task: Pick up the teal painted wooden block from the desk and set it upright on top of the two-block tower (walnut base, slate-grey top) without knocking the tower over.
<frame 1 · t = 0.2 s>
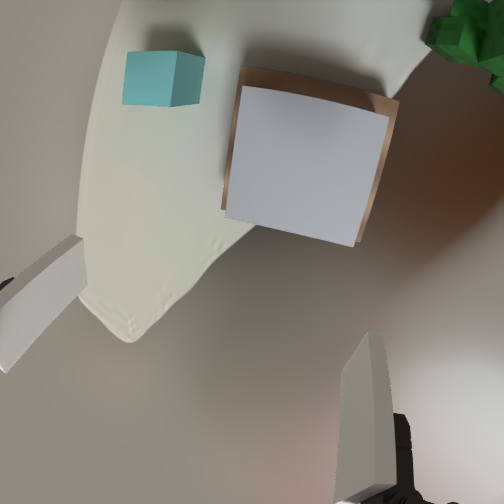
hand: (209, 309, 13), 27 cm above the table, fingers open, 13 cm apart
toy: (474, 51, 23), on the table
block: (180, 79, 33), on the table
tower base: (308, 146, 35), on the table, touching tower top
tower top: (305, 155, 30), point 5 cm above the table, touching tower base
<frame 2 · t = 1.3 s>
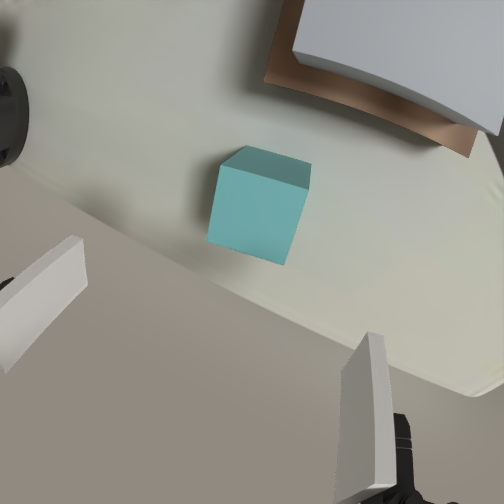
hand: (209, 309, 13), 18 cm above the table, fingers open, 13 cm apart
block: (270, 184, 28), on the table
tower base: (384, 32, 19), on the table, touching tower top
tower top: (402, 17, 14), point 5 cm above the table, touching tower base
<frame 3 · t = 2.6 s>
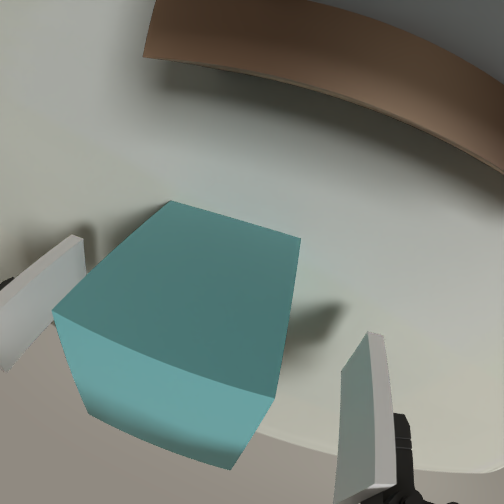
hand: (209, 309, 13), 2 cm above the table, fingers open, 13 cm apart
block: (222, 273, 15), on the table
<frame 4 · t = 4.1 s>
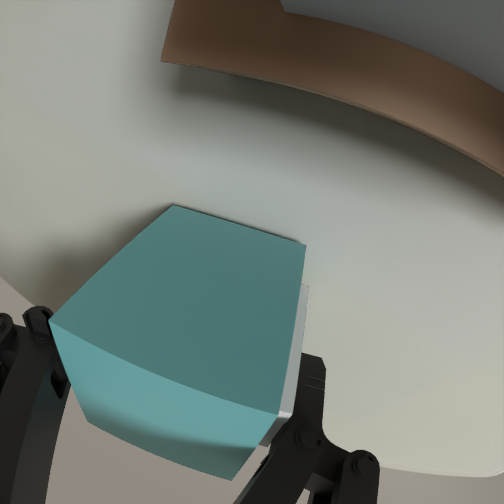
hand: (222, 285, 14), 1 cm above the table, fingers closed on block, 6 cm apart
block: (225, 279, 15), point 1 cm above the table, touching gripper
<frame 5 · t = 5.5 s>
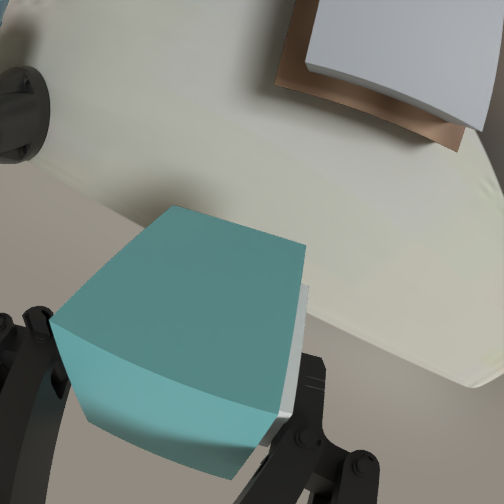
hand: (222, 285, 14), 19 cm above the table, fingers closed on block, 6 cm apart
block: (225, 279, 15), point 19 cm above the table, touching gripper
tower base: (382, 39, 22), on the table
tower top: (398, 28, 17), point 6 cm above the table
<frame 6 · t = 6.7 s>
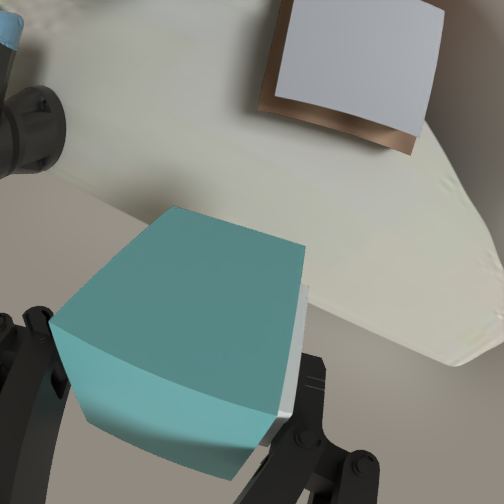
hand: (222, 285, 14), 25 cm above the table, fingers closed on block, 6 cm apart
block: (224, 280, 15), point 25 cm above the table, touching gripper
tower base: (349, 62, 29), on the table, touching tower top
tower top: (356, 54, 23), point 5 cm above the table, touching tower base
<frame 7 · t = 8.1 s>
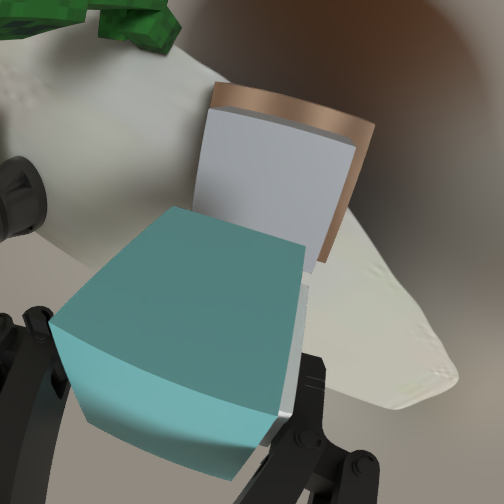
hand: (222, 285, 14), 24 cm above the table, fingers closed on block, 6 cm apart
toy: (167, 3, 27), on the table
block: (224, 280, 15), point 24 cm above the table, touching gripper
tower base: (281, 162, 36), on the table, touching tower top
tower top: (274, 176, 30), point 6 cm above the table, touching tower base
when the fingers open (13 cm above the table, at t = 11.2 s): block drops 1 cm, resting on tower top.
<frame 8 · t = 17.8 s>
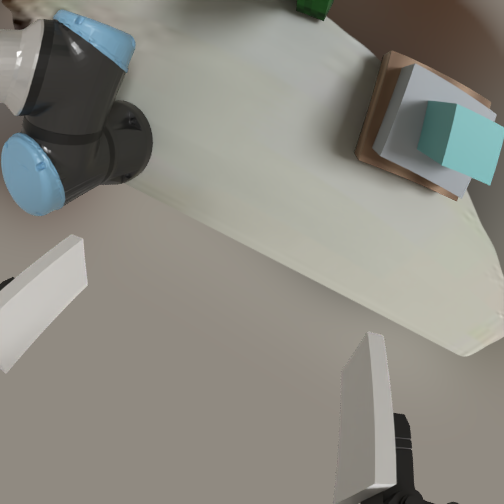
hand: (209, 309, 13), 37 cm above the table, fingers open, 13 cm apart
block: (445, 133, 28), point 12 cm above the table, touching tower top
tower base: (417, 123, 38), on the table, touching tower top
tower top: (427, 127, 33), point 5 cm above the table, touching block, tower base
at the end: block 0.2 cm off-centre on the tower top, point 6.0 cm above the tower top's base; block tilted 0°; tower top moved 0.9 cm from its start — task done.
